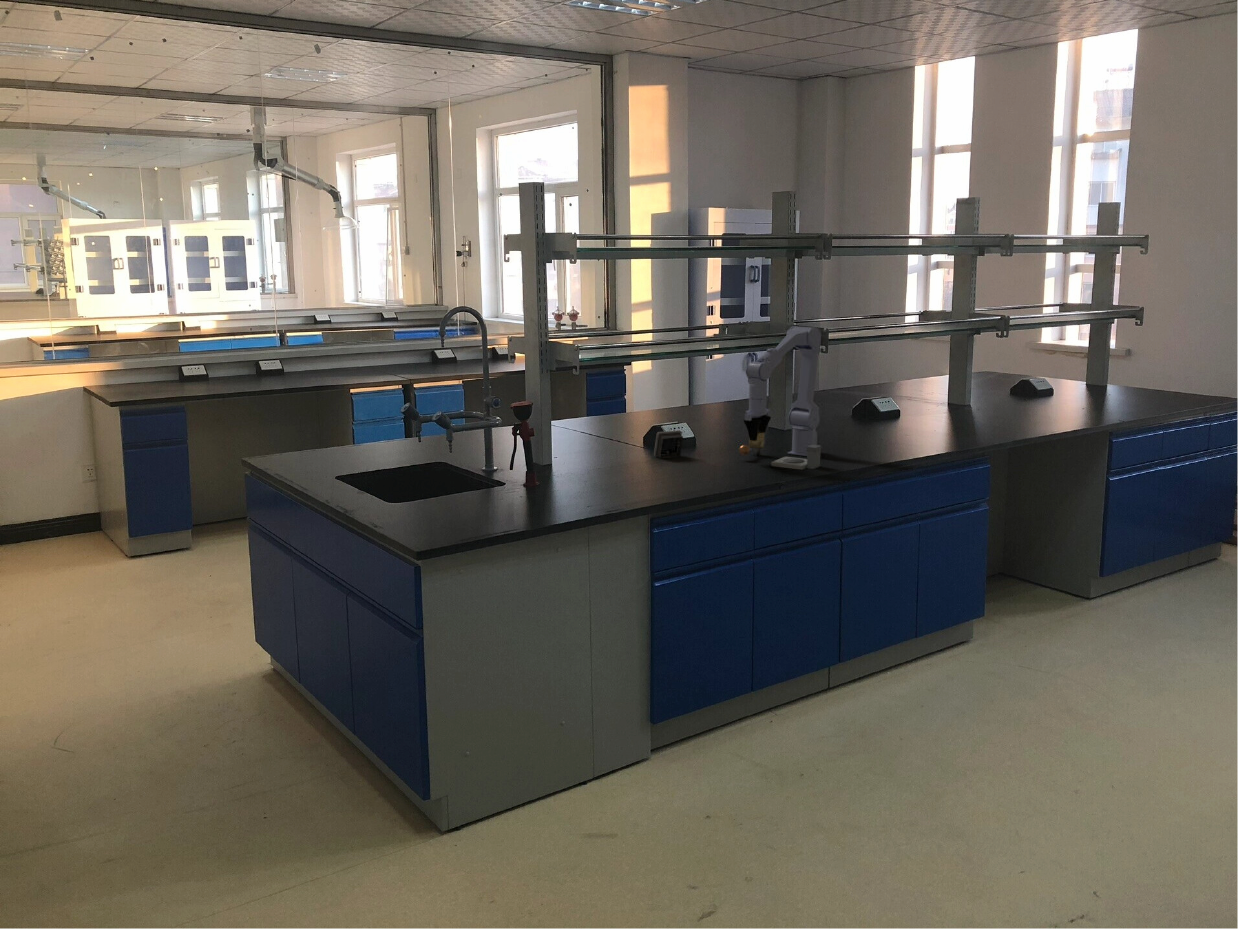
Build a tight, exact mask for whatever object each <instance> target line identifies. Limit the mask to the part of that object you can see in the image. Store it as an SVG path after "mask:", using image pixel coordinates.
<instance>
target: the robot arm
mask: <svg viewBox="0 0 1238 929" xmlns="http://www.w3.org/2000/svg"><path fill="white" fill-rule="evenodd" d="M821 341H822V333H821V332H820V330H819V328H818V327H817V326H816V327H814V326H813V327H810V326H809V327H808V326H797V325H792V326H791V327H790V328H789V329H788V330H786V336H785V337H784V338H783V339H782V340H781V341H780V342H779V344H778V345H777V346H776V347H775V348H774V347H771V348H767V349H766V351H765V352H764V353H763V355H761V356H759V358H758V359H756V360H755V361H754V360H753V361H751V362H750V363H748V365H747V367H746V370H745V374H746V378H747V383H748V385H749V386H748V387H749V388H748V395H749V397H748V410H745V414H744V418H743V423H744V425H745V427H746V429H747V434H748V440H749V439H750V440H751V441H756V440H757V435H758V429H759V431H761V432H764V433H765V434H766V432H767V428H768V425H769V422H770V421H771V419H772V417H771V414H770V413H771V409H770V408H767V404H768V402H767V400H768V398H767V396H768V395H767V394H768V379H770V378H771V377H772V376H771V375H772V373H773V371H774V369H775V368H776V367H777V366H778V365H779V364H780V363H781V362H782V361H783V356H784V355H785V354H788V352H789V351H790V350H792V349H793V348H794V347H795V348H796V349H797V350H799V351H800V353H801V355H802V357H801V365H800V374H799V375H800V376H799V383H798V392H797V399H796V400H795V401H794V402H793V403H791V405H790V410H789V412H788V416H787V421H788V424H789V425H790V428H792V438H791V439H792V441H791V443H792V444H791V450H790V451H788V452H787V454H788V455H793V456H794V455H795V456H803V457H807V447H808V446H810V445H818V431H816V428H817V427H818V426H819V424H820V421H821V420H820V407H819V406H818V405H817V404H816V403H815V402H814V396H815V389H816V379H817V378H816V377H817V371H818V362H819V354H820V353H819V352H820V349H821Z"/></svg>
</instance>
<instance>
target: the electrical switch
mask: <svg viewBox="0 0 1238 929" xmlns="http://www.w3.org/2000/svg"><path fill="white" fill-rule="evenodd" d="M682 434H683V432H682V431H681V430H680V429H678V430H669V431H667V430H666V431H657V433H656V436H655V441H654V442H655V444H654V450H653V456H654V458H659V459H670V458H672V459H673V458H680V457H681V453H682V446H683V441H684V436H683V435H682Z"/></svg>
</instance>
